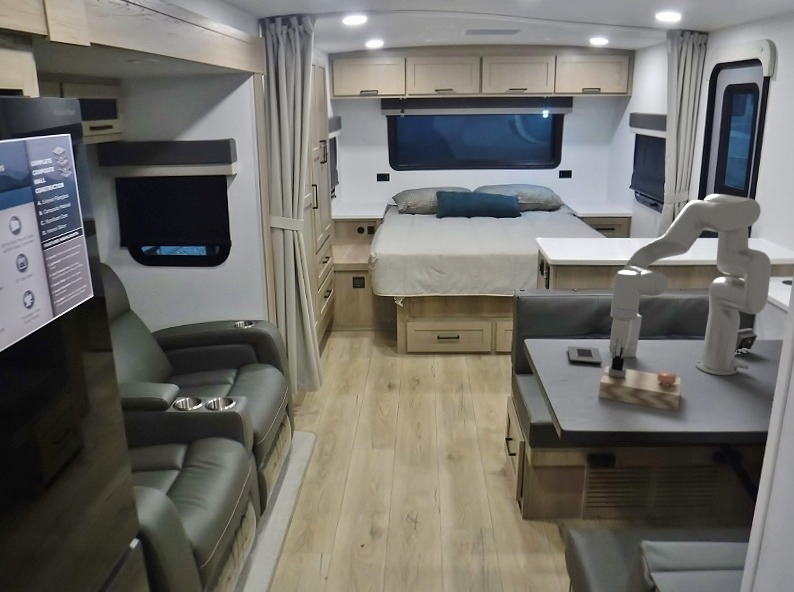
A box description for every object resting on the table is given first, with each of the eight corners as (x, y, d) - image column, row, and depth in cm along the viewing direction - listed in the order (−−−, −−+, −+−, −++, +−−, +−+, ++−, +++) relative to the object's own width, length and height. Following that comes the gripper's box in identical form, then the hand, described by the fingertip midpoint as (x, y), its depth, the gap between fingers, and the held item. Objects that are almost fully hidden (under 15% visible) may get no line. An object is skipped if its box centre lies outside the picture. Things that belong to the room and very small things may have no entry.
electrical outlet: (601, 367, 218) (602, 360, 217) (569, 364, 220) (570, 358, 219) (597, 353, 230) (598, 347, 230) (567, 351, 232) (568, 345, 231)
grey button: (624, 387, 200) (626, 367, 198) (622, 393, 195) (625, 373, 194) (607, 384, 202) (610, 364, 200) (605, 390, 197) (608, 370, 195)
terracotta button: (673, 393, 194) (676, 373, 192) (672, 399, 190) (675, 379, 188) (655, 390, 196) (658, 370, 194) (654, 396, 192) (657, 376, 190)
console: (678, 392, 198) (680, 377, 196) (677, 411, 186) (679, 395, 184) (604, 380, 206) (606, 365, 205) (598, 397, 194) (600, 381, 193)
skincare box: (609, 349, 233) (614, 308, 229) (626, 348, 234) (631, 308, 230) (619, 357, 225) (624, 315, 221) (637, 357, 226) (642, 315, 222)
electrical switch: (741, 349, 236) (747, 325, 232) (753, 355, 231) (760, 331, 228) (722, 352, 232) (728, 329, 229) (734, 358, 228) (741, 335, 224)
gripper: (613, 303, 200) (607, 359, 205) (607, 317, 186) (601, 375, 191) (639, 307, 197) (632, 363, 202) (635, 320, 183) (627, 380, 189)
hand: (617, 369), depth 197 cm, fingers closed
